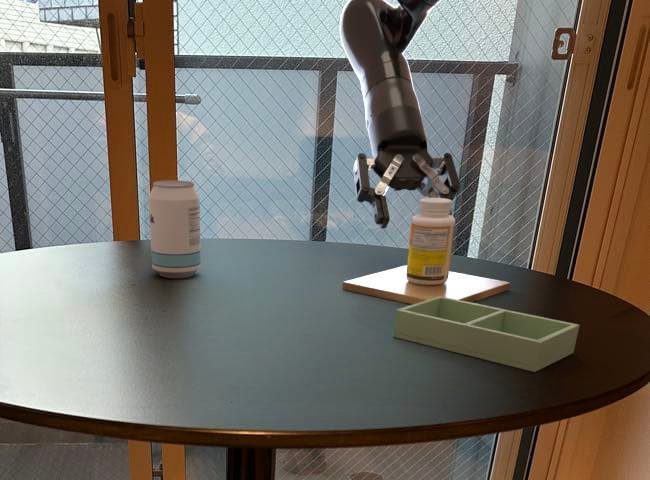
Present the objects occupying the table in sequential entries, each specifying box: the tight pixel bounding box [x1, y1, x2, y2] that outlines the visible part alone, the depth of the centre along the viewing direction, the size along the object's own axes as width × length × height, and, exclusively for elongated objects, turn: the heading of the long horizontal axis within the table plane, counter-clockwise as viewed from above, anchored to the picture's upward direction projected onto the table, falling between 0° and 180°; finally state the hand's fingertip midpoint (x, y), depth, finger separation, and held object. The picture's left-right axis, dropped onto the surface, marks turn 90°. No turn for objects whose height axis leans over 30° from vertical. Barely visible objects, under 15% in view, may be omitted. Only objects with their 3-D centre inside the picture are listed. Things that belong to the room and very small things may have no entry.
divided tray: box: [393, 296, 580, 373], centre depth 86 cm, size 9×17×3 cm, turn 46°
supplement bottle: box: [406, 197, 456, 285], centre depth 105 cm, size 6×6×10 cm
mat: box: [341, 264, 511, 305], centre depth 108 cm, size 16×16×1 cm
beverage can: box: [148, 180, 202, 279], centre depth 111 cm, size 7×7×12 cm
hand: (415, 224), depth 109 cm, fingers open, 8 cm apart
